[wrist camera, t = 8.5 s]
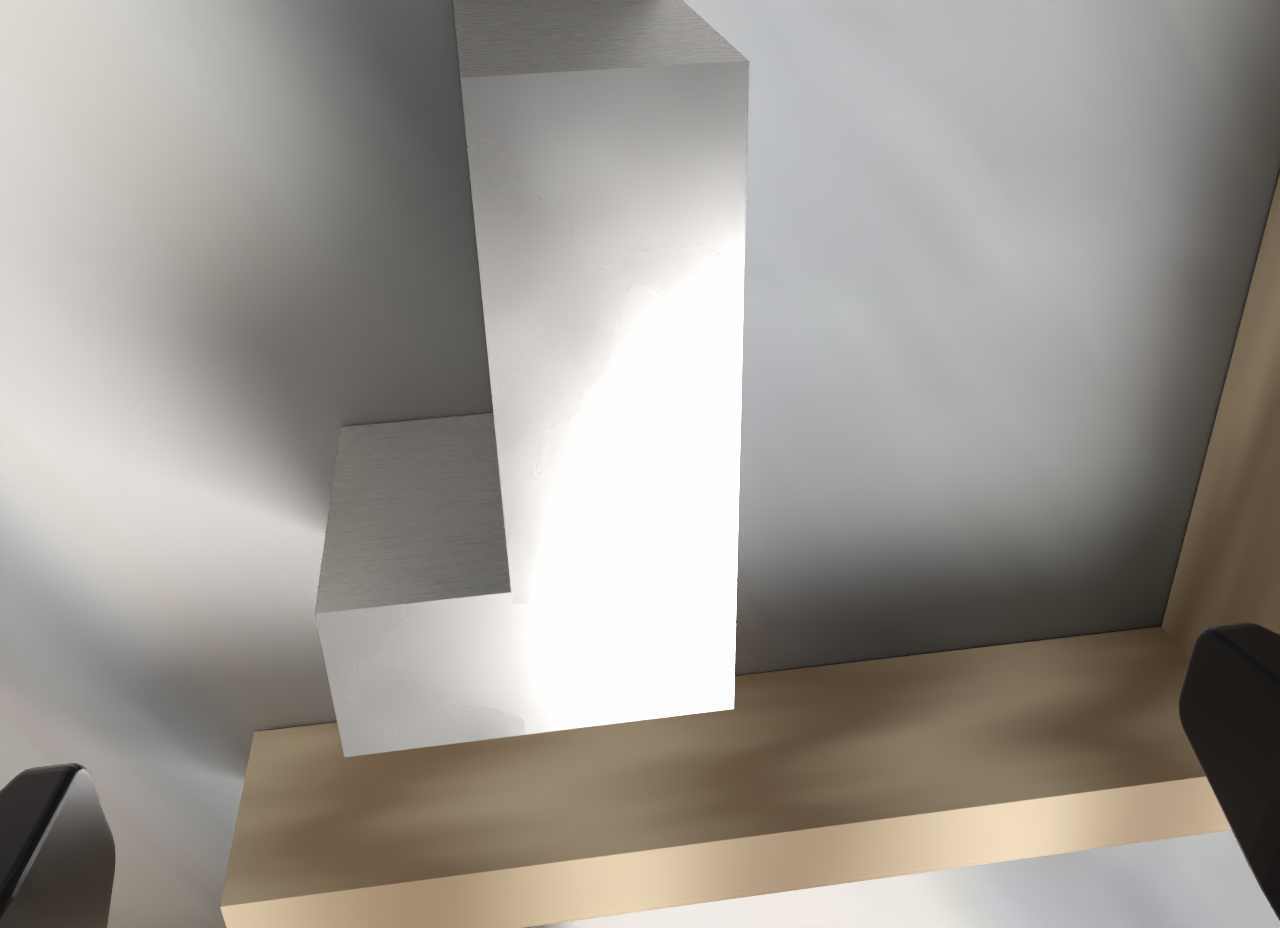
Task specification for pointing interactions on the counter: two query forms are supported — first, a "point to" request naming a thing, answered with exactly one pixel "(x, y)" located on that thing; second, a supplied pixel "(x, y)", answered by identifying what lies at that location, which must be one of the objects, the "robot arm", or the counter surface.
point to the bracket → (564, 404)
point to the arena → (793, 754)
